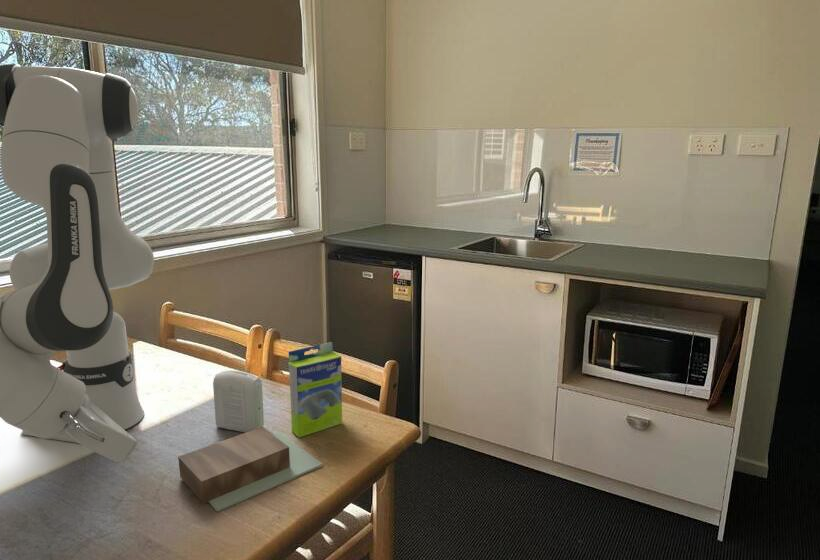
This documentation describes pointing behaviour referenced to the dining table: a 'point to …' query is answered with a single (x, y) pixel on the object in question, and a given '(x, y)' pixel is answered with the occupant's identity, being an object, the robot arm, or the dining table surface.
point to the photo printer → (238, 401)
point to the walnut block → (233, 463)
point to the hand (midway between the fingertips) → (131, 443)
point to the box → (315, 389)
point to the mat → (271, 476)
